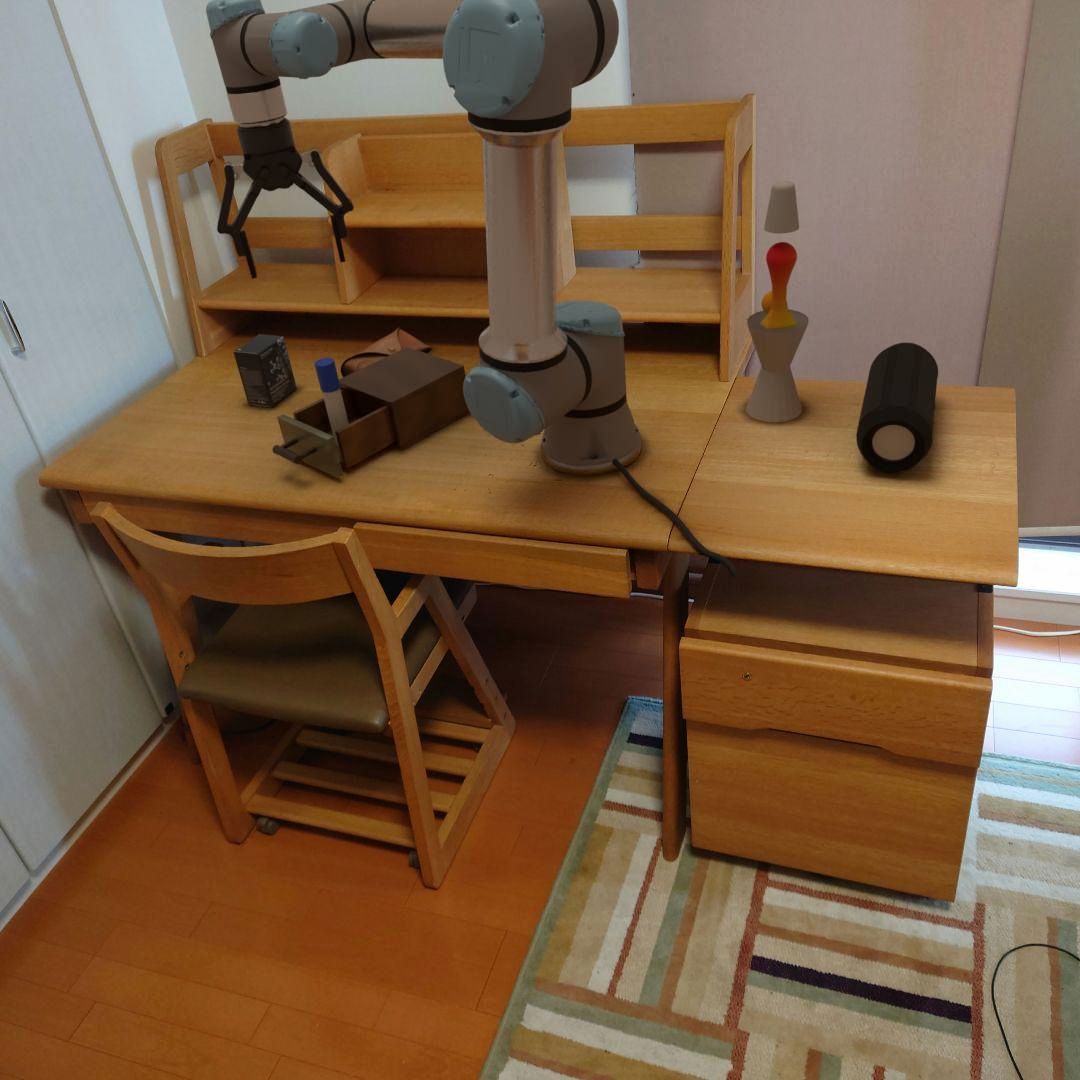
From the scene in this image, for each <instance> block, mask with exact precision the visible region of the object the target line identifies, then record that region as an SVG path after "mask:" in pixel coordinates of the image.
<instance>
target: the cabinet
mask: <svg viewBox="0 0 1080 1080" xmlns="http://www.w3.org/2000/svg"><path fill="white" fill-rule="evenodd" d="M466 376H467V375H466V370H465V365H463V364H460V363H457V362H454V361H451V360H448V359H445V358H441V357H438V356H435V355H433V354H429V353H427V352H421V351H417V350H414V349H411V348H408V347H406V348H404V349H402V350H400V351H398V352H395V353H393V354H391V355H389V356H387V357H385V358H383V359H381V360H379V361H377V362H375V363H372V364H370V365H368V366H366V367H364V368H362V369H360V370H358V371H356V372H354V373H351V374H349V375H347V376H345V377H343V376H342V377H341V378H338V379H339V383H340V390H341V389H343V388H344V389H347V390H349V391H352V392H355V393H357V394H360V395H362V396H365V397H367V398H370V399H373V400H375V401H378V402H380V403H383V404H385V405H388V406H389V407H390V411H391V416H392V421H393V426H394V430H395V435H396V440H397V441H396V442H394V443H393V444H391V445H389V446H388V447H391V448H394V449H395V450H399V451H404V450H406V449H408V448H409V447H411V446H413V445H415V444H417V443H419V442H420V441H422V440H424V439H426V438H427V437H429V436H431V435H433V434H434V433H436V432H438V431H441V430H442V429H444V428H445V427H447V426H449V425H451V424H452V423H454V422H457V421H458V420H460V419H462V418H463V417H466V416H468V414H471V413H470V411H469V409H468V407H467V404H466V402H465V398H464V394H463V384H464V380H465V378H466Z"/></svg>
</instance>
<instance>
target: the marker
mask: <svg viewBox="0 0 1080 1080" xmlns="http://www.w3.org/2000/svg"><path fill="white" fill-rule="evenodd" d="M314 369H315V372H316V375H317V379H318V383H319V388H320V391H321V393H322V398H324V401H325V405H326V409H327V413H328V417H329V421H330V425H331V429H332V433H333V437H334V440H335V444H336V445H337V446H339V444H338V440H337V436H336V432H335V431H337V430H339V429H341V428H343V427H345V426H347V425H349V423H348V419H347V415H346V410H345V406H344V402H343V398H342V394H341V390H340V383H339V379H340V378H339V375H338V370H337V367H336V363H335V359H334V358H332V357H322V358H319V359H317V360H316V361H315V362H314Z"/></svg>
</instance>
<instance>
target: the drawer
mask: <svg viewBox="0 0 1080 1080" xmlns="http://www.w3.org/2000/svg"><path fill="white" fill-rule="evenodd" d="M341 394H342V398H343V402H344V406H345V410H346V415H347V419H348V423H349V425H347V426H345V427H343V428H341V429H339V430H337V431H335V432H336V436H337V440H338V444H339V446H337V445H336V444H335V440H334V437H333V433H332V429H331V425H330V421H329V417H328V413H327V409H326V405H325V401H324V397H322V398H320V399H318V400H316V401H314V402H312V403H310V404H307V405H306V406H304V407H301V408H299V409H297V410H296V411H293V412H292V415H293V417H291V416H288V415H286V414H285V413H282V414H280V415H277V416H276V419H277V422H278V425H279V429H280V433H281V436H282V439H283V444H281V445H279V444H275V445H273V446H272V453H273V454H274V455H276V456H279V457H281V458H284V459H285V460H288V461H290V462H291V463H293V464H295V465H300V464H301V463H305V464H307V465H309V466H311V467H313V468H314V469H315V468H316V469H317V470H319V471H321V472H323V473H325V474H328V475H329V476H331V477H334V478H336V479H339V478H341V477H343V476H344V472H343V468H345V469H348V468H350V467H352V466H355V465H356V464H358V463H359V462H361V461H363V460H365V459H367V458H368V457H371V456H373V455H374V454H376V453H378V452H380V451H382V450H383V449H385V448H387V447H390V446H389V445H391V444H393V443H394V442H396V441H397V440H396V435H395V430H394V426H393V421H392V416H391V411H390V407H389V406H388V405H385V404H383V403H380V402H378V401H375V400H373V399H370V398H367V397H365V396H362V395H360V394H357V393H355V392H352V391H349V390H347V389H344V388H343V389H341ZM342 467H343V468H342Z"/></svg>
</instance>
